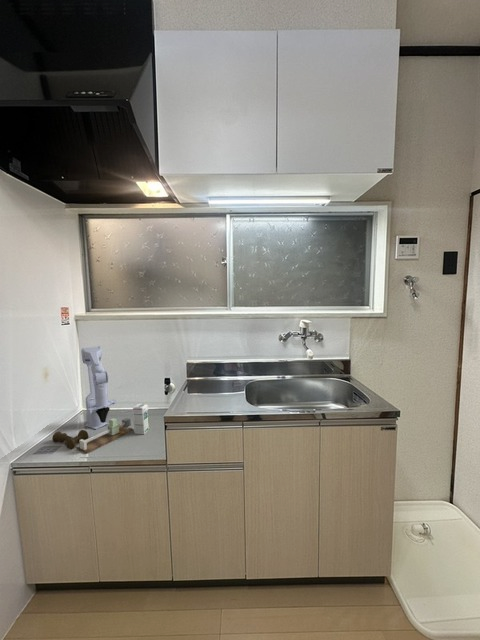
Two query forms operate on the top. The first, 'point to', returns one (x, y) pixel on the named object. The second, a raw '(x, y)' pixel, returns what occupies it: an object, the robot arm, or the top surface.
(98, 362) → the robot arm
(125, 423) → the linear slide rail
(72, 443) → the kendama
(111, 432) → the sleeve
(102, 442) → the board
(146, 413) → the syrup box
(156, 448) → the top surface
